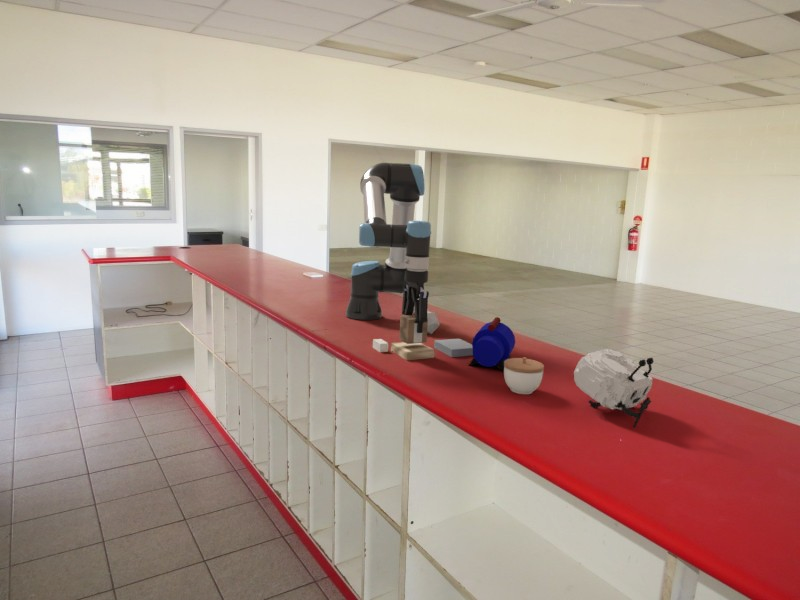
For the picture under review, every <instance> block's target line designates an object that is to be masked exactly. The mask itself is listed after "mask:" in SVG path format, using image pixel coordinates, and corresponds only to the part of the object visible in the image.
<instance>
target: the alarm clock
mask: <svg viewBox="0 0 800 600" xmlns="http://www.w3.org/2000/svg"><path fill="white" fill-rule="evenodd" d="M501 321H502V319H501V318H500V317H498V316H496V317H495V318H494V319H493V320H492V321H490V322H488V323H485V324H484V325H483V326H481V328H480V329H479V330H478V331H477V332H476V333H475V335H474V337H473V338H472V343H471V344H472V347H473V355H472V356H473V358H472V359H471V361H470V363H468V365H467V366H474V365H477V364H479V365H481V366H483V367H489V368H491V367H494V366H495V367H497V369H500V370H501V371H503V372H504V361H505V360H507V359H511V358H512V357H511V355H510V354H511V353H512V352H513V350H514V348H515V346H516V337H515V334H514V332H513V330H512V329H511V328H510V327H509V326H508V325H506V324H504V323H502V322H501Z"/></svg>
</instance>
